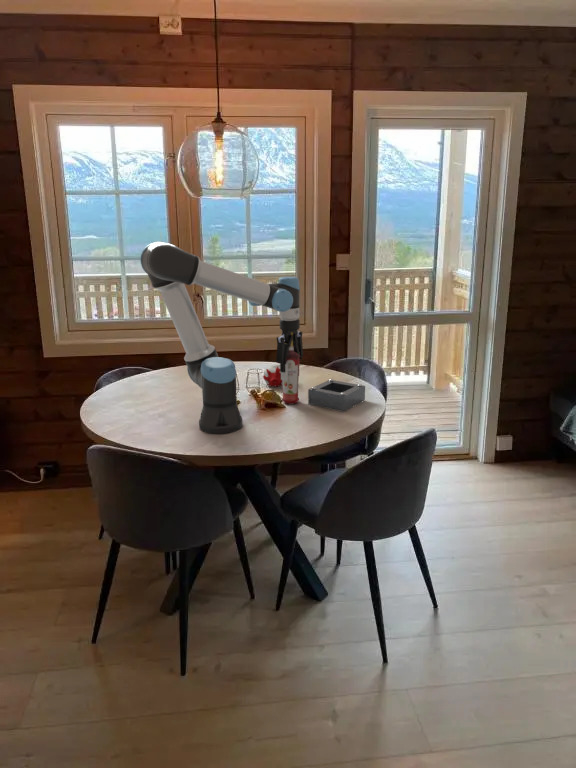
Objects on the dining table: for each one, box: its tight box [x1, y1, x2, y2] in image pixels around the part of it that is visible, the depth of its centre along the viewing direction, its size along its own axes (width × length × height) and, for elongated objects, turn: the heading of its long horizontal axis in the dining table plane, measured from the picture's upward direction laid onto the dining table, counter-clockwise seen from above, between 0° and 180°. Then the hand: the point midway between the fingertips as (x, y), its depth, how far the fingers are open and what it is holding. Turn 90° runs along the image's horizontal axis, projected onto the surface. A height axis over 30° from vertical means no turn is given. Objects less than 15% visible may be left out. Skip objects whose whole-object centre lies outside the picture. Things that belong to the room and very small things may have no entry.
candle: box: [262, 363, 282, 388], centre depth 249 cm, size 9×11×15 cm
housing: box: [307, 378, 366, 412], centre depth 227 cm, size 16×16×7 cm
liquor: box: [281, 332, 300, 405], centre depth 225 cm, size 7×7×28 cm
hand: (290, 377), depth 226 cm, fingers closed on liquor, 7 cm apart
